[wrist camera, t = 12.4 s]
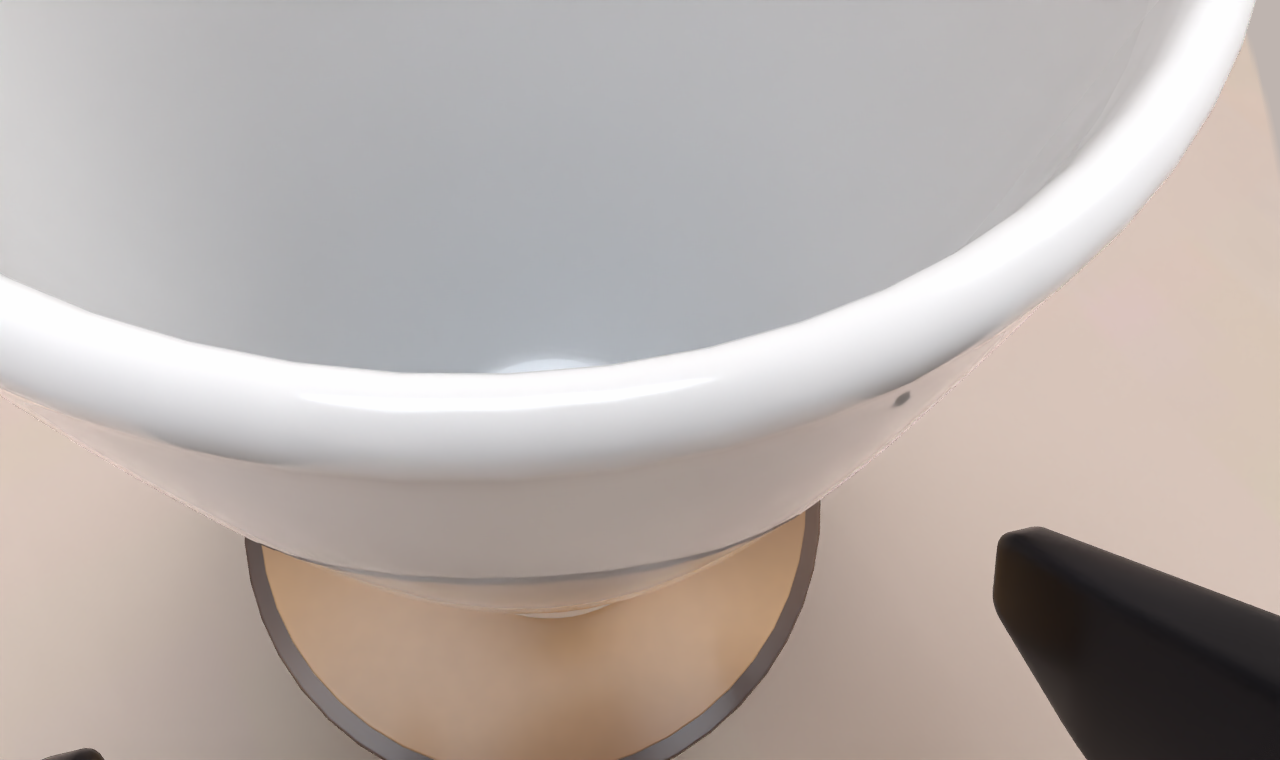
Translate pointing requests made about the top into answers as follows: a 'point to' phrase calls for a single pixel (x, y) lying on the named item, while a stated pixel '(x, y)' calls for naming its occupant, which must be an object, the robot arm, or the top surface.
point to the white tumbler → (552, 255)
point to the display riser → (537, 659)
